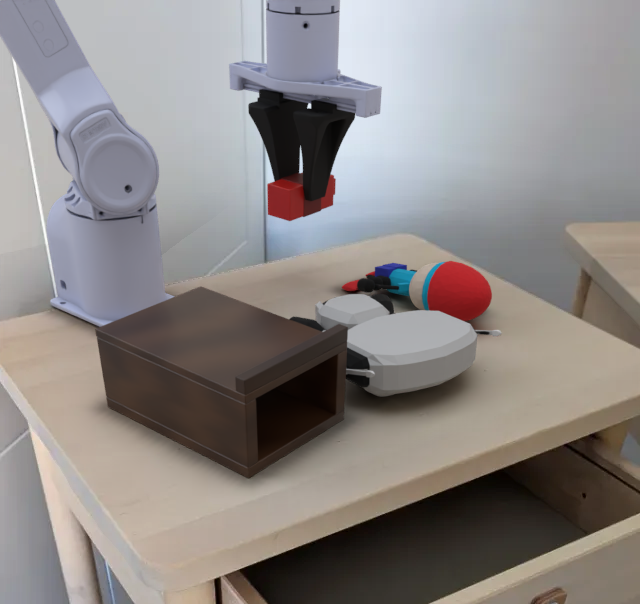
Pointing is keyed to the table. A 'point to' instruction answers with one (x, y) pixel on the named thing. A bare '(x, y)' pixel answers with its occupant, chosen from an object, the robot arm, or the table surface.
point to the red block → (295, 198)
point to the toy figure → (432, 287)
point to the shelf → (225, 377)
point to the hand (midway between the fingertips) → (301, 194)
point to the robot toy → (397, 343)
